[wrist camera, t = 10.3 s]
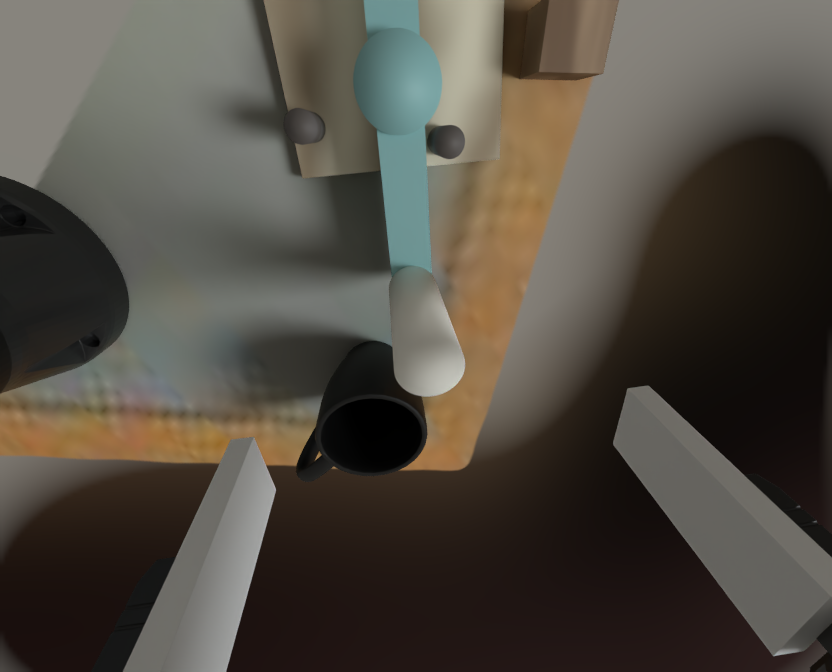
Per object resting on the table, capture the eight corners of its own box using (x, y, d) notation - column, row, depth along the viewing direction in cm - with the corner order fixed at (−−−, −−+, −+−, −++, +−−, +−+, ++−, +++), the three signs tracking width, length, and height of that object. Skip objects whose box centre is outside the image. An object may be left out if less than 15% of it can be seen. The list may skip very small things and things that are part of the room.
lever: (381, 298, 29) (383, 401, 18) (335, -83, 19) (270, -403, 7) (440, 292, 29) (478, 391, 18) (428, -87, 19) (501, -404, 8)
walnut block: (538, 72, 22) (603, 73, 22) (550, -7, 20) (619, -4, 20) (519, 79, 25) (575, 80, 25) (527, 11, 23) (588, 13, 23)
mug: (282, 382, 35) (252, 461, 27) (379, 311, 32) (379, 373, 24) (341, 430, 38) (331, 512, 30) (432, 369, 36) (449, 441, 27)
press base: (305, 176, 26) (290, 186, 22) (260, -31, 21) (229, -74, 16) (495, 158, 27) (518, 163, 22) (500, -50, 21) (531, -96, 17)
